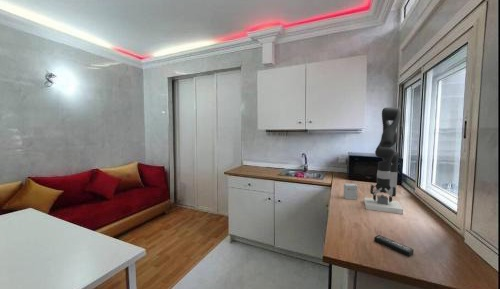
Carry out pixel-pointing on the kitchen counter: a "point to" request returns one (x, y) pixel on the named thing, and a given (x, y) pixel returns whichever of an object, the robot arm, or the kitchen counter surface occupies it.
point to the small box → (350, 191)
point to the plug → (382, 199)
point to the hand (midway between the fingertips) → (382, 201)
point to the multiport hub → (394, 245)
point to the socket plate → (383, 206)
